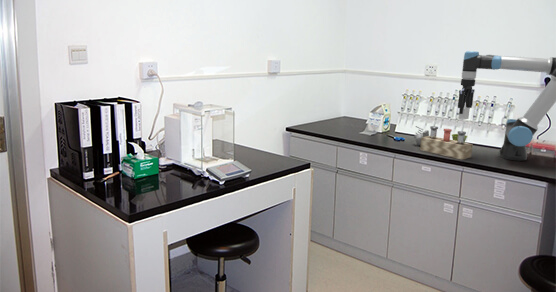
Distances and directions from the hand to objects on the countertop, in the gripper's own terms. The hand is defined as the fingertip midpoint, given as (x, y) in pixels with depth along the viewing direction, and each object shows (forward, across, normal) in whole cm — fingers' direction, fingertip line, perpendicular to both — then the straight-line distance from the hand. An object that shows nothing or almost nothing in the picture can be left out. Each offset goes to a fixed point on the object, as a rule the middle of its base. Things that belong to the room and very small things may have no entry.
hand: (463, 118), depth 263 cm
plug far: (+17, 0, -18) cm, 25 cm away
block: (+23, 0, -9) cm, 24 cm away
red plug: (+17, 0, -9) cm, 19 cm away
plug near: (+17, 0, 0) cm, 17 cm away
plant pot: (+23, -19, -11) cm, 32 cm away
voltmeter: (+23, -11, -34) cm, 42 cm away
